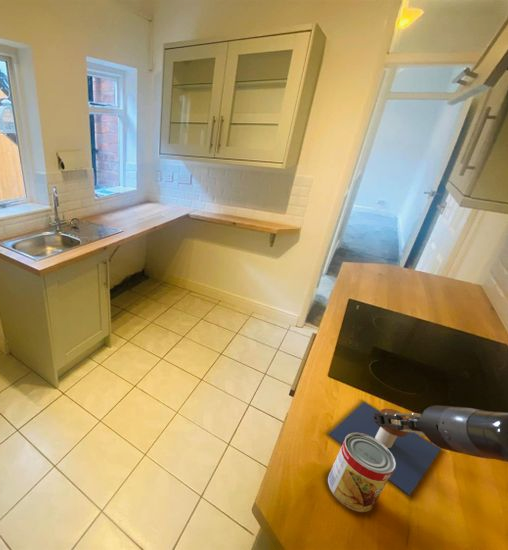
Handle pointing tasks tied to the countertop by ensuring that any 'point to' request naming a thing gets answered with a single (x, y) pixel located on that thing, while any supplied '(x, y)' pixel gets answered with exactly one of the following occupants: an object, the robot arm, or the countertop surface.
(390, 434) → the mushroom
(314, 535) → the countertop surface
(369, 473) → the canned food
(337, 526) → the countertop surface
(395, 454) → the napkin
